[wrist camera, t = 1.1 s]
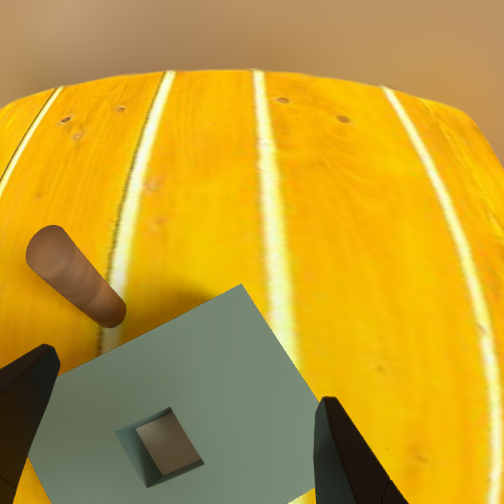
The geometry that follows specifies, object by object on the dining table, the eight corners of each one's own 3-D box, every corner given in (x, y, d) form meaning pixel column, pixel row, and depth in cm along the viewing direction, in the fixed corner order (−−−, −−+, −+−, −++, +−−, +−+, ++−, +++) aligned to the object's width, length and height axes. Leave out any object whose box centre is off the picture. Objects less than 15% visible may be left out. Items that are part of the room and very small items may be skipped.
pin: (101, 333, 23) (29, 280, 14) (90, 303, 25) (23, 239, 15) (130, 318, 24) (72, 256, 15) (118, 289, 25) (62, 217, 16)
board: (118, 546, 14) (96, 568, 10) (41, 405, 20) (7, 400, 15) (334, 450, 20) (357, 457, 15) (240, 307, 25) (241, 283, 21)
